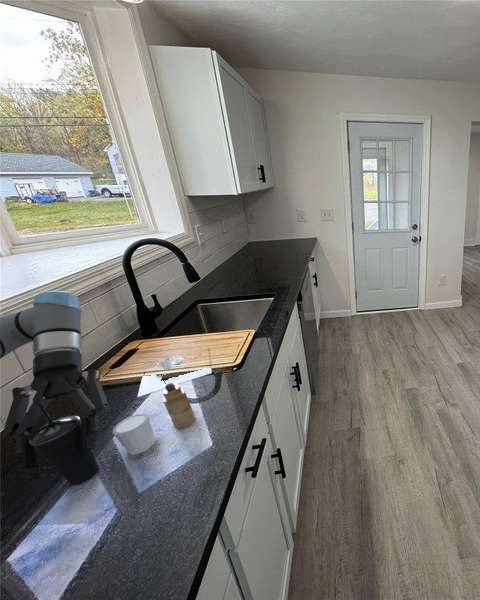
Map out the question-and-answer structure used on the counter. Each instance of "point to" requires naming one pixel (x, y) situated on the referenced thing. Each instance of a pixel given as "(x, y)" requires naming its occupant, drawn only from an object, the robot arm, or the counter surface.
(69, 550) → the counter surface
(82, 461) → the drinking cup
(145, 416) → the white short cylinder
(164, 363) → the teacup and saucer
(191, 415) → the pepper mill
